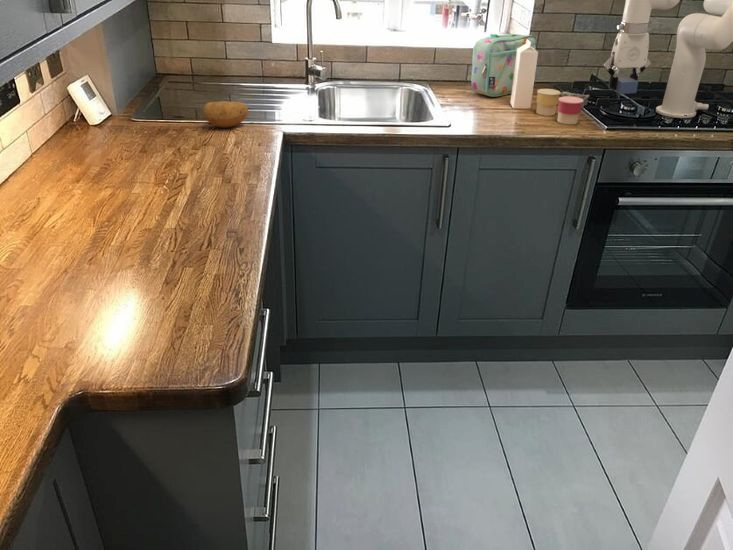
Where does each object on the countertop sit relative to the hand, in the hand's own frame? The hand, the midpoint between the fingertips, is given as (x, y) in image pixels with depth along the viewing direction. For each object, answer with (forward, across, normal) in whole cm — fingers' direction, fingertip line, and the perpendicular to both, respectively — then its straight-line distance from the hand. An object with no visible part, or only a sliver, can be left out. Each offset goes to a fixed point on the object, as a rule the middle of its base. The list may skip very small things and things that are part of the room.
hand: (622, 87), depth 195 cm
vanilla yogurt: (+10, -19, +12) cm, 25 cm away
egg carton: (+11, -7, +21) cm, 25 cm away
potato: (+8, -126, +9) cm, 127 cm away
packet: (+1, 0, 0) cm, 1 cm away
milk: (+10, -25, +21) cm, 34 cm away
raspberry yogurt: (+10, -16, +2) cm, 19 cm away
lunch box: (+11, -27, +39) cm, 49 cm away
